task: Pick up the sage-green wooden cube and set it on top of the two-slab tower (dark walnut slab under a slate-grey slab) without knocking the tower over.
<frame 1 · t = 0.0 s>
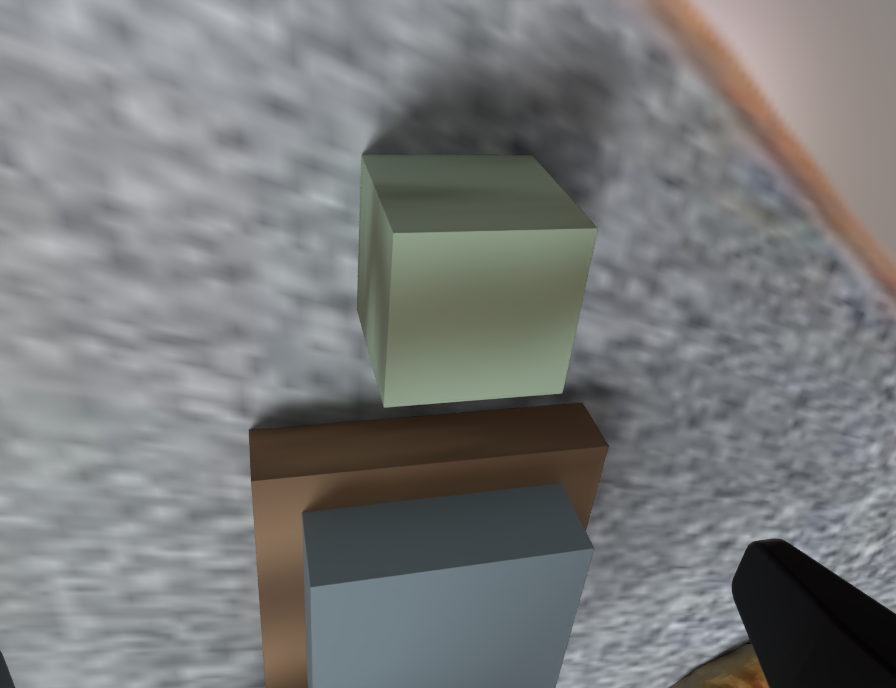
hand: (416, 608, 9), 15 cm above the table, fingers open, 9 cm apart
walnut base slab: (410, 523, 31), on the table
slate top slab: (427, 584, 29), point 2 cm above the table
sage block: (440, 233, 23), on the table
pastry: (701, 684, 44), on the table
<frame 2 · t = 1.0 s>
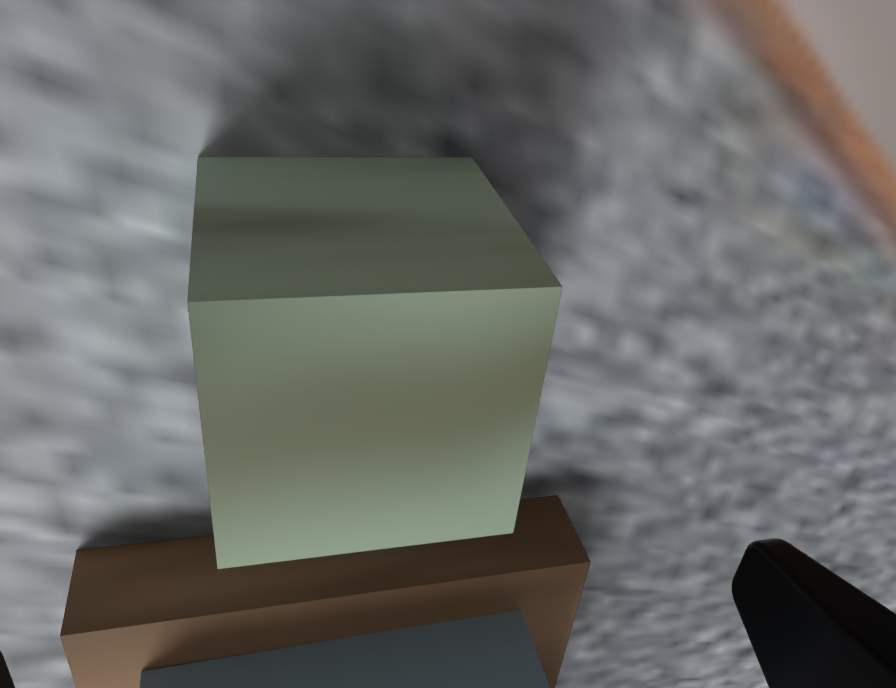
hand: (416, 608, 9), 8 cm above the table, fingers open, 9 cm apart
walnut base slab: (331, 643, 23), on the table, touching slate top slab
sage block: (338, 274, 16), on the table
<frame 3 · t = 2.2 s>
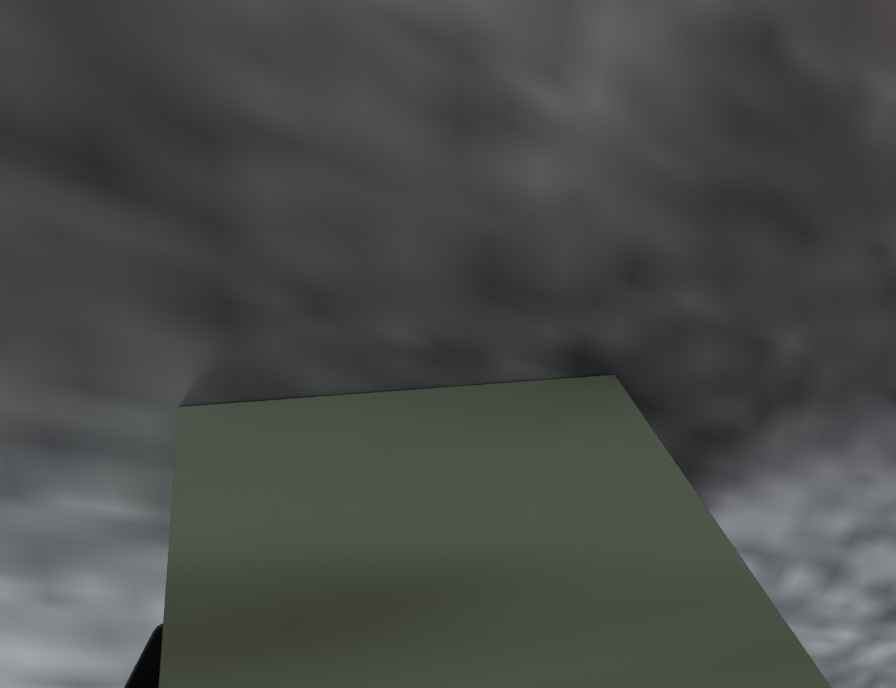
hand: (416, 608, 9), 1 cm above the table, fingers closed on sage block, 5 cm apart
sage block: (399, 541, 10), on the table, touching gripper
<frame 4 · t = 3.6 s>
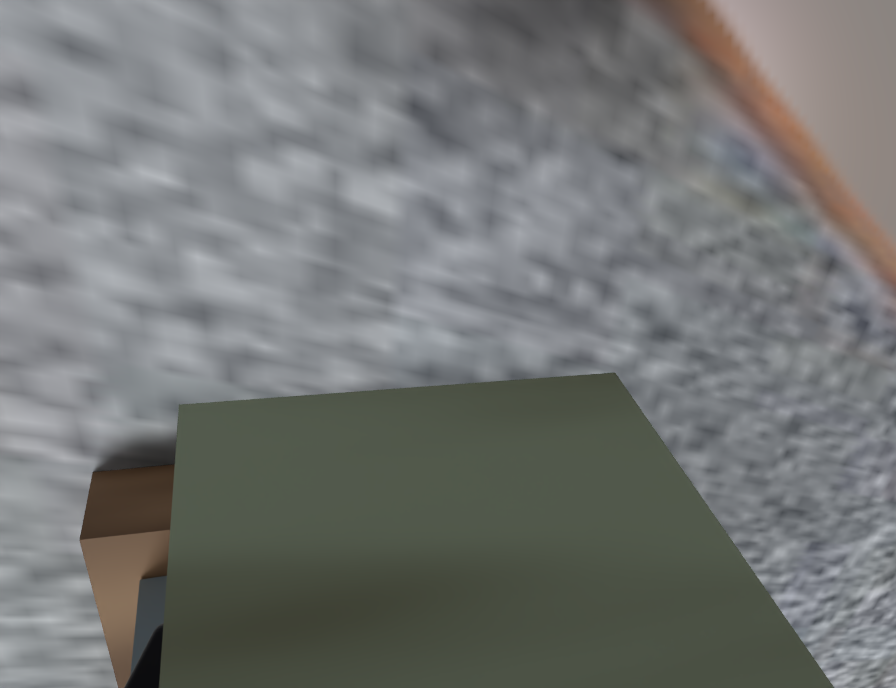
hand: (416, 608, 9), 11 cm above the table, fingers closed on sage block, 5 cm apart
walnut base slab: (321, 573, 26), on the table, touching slate top slab
slate top slab: (325, 653, 23), point 2 cm above the table, touching walnut base slab
sage block: (400, 540, 10), point 10 cm above the table, touching gripper
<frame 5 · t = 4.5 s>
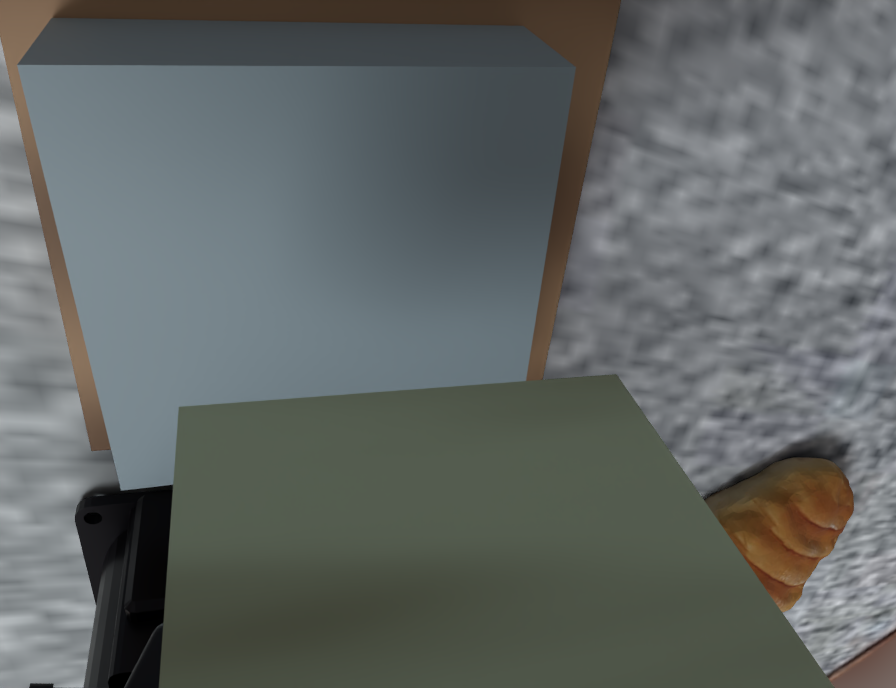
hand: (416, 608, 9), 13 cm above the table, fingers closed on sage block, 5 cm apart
walnut base slab: (318, 181, 20), on the table, touching slate top slab
slate top slab: (311, 231, 18), point 2 cm above the table, touching walnut base slab
sage block: (400, 542, 10), point 12 cm above the table, touching gripper
pastry: (716, 528, 33), on the table
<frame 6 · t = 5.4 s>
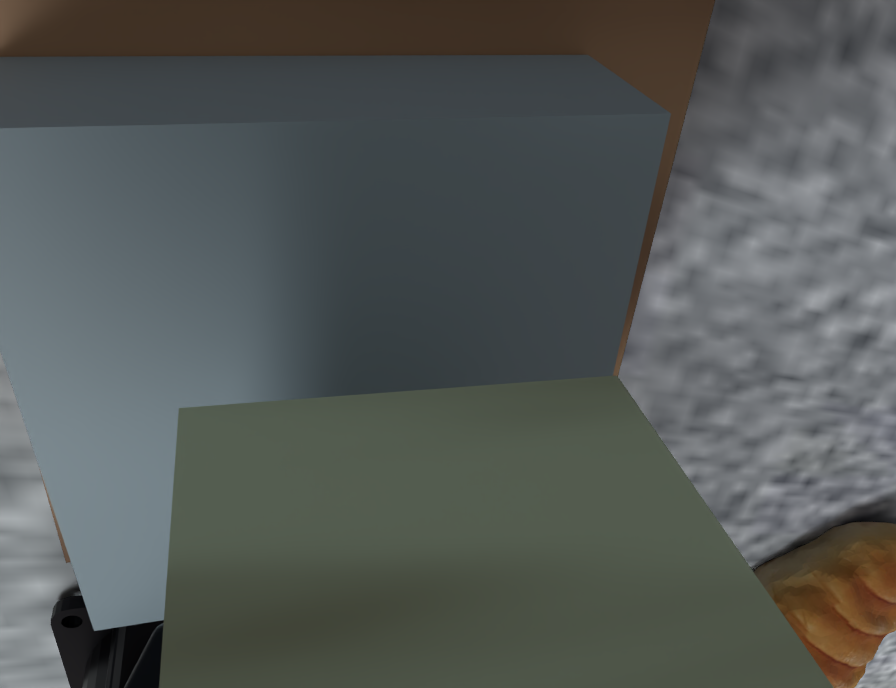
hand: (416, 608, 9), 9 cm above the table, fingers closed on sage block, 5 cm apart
walnut base slab: (332, 238, 17), on the table, touching slate top slab
slate top slab: (325, 305, 14), point 2 cm above the table, touching walnut base slab
sage block: (400, 543, 10), point 8 cm above the table, touching gripper
pastry: (766, 595, 30), on the table
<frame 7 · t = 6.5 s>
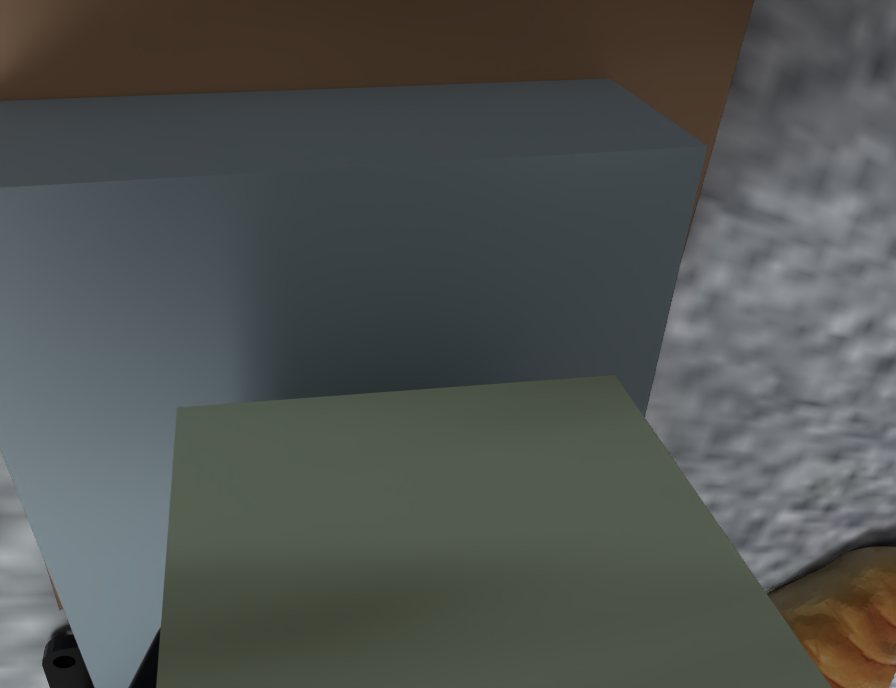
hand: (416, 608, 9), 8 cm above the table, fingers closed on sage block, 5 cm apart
walnut base slab: (339, 265, 16), on the table, touching slate top slab
slate top slab: (335, 346, 14), point 2 cm above the table, touching walnut base slab
sage block: (399, 542, 10), point 7 cm above the table, touching gripper
pastry: (777, 621, 29), on the table
when the fingers open (8 cm above the table, at t = 6.8 s): sage block drops 2 cm, resting on slate top slab.
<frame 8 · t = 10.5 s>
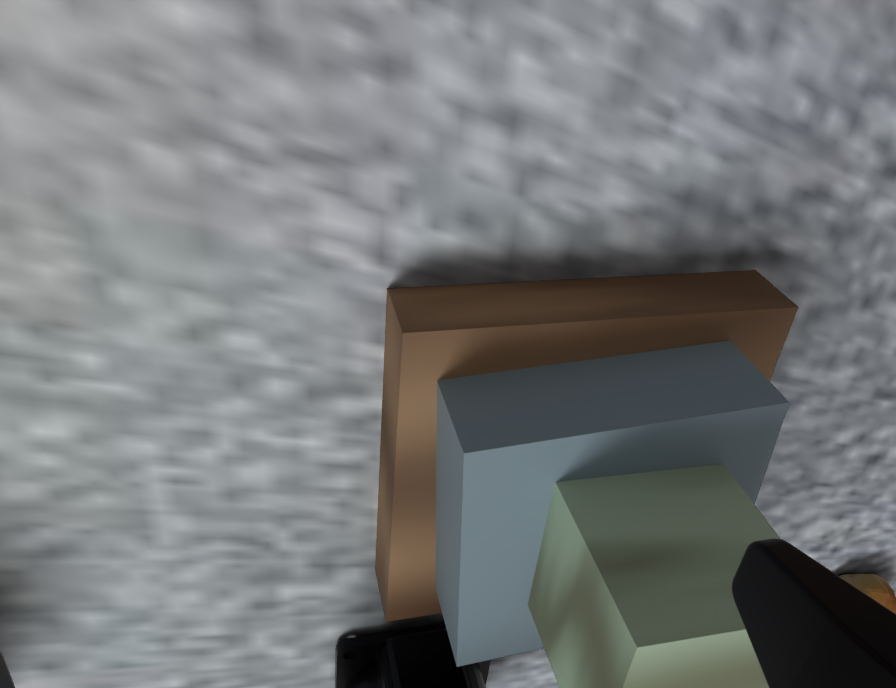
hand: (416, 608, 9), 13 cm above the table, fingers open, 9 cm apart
walnut base slab: (545, 417, 27), on the table, touching slate top slab
slate top slab: (572, 472, 25), point 2 cm above the table, touching sage block, walnut base slab
sage block: (622, 536, 22), point 5 cm above the table, touching slate top slab
pastry: (782, 627, 39), on the table
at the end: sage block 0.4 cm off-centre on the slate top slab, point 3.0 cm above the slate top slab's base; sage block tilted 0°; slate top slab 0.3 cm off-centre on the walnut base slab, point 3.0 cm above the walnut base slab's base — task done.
